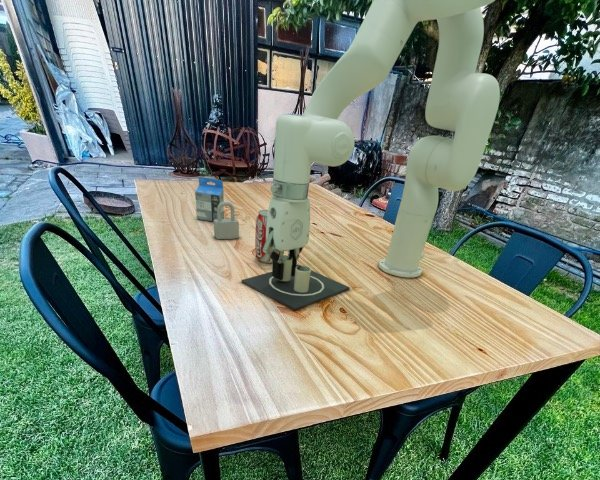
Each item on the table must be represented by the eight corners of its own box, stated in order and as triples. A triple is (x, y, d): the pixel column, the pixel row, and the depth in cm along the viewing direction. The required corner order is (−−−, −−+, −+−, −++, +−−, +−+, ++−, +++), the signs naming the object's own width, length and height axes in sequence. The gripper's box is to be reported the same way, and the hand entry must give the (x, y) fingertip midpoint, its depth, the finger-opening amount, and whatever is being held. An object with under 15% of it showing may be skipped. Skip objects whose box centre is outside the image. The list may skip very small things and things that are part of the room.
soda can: (276, 266, 94) (279, 218, 86) (251, 261, 95) (252, 213, 87) (282, 258, 99) (286, 212, 92) (259, 253, 100) (260, 207, 92)
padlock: (235, 235, 111) (234, 199, 104) (239, 239, 108) (239, 203, 102) (213, 236, 108) (211, 200, 101) (217, 240, 105) (216, 203, 99)
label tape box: (196, 219, 120) (192, 177, 112) (201, 216, 123) (198, 176, 115) (220, 223, 119) (218, 182, 111) (224, 220, 122) (223, 180, 114)
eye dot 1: (283, 274, 87) (285, 254, 84) (293, 279, 85) (295, 258, 82) (273, 277, 85) (274, 256, 82) (283, 282, 83) (285, 261, 80)
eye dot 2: (300, 285, 85) (302, 264, 81) (311, 290, 83) (314, 269, 80) (290, 288, 82) (292, 267, 79) (301, 294, 81) (303, 272, 77)
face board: (297, 266, 96) (298, 263, 95) (349, 289, 87) (349, 286, 87) (241, 282, 84) (241, 279, 83) (294, 310, 75) (294, 307, 75)
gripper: (274, 197, 66) (269, 289, 78) (328, 192, 76) (317, 274, 88) (248, 188, 70) (247, 278, 82) (304, 185, 80) (296, 265, 92)
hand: (283, 275), depth 85 cm, fingers closed on eye dot 1, 3 cm apart
